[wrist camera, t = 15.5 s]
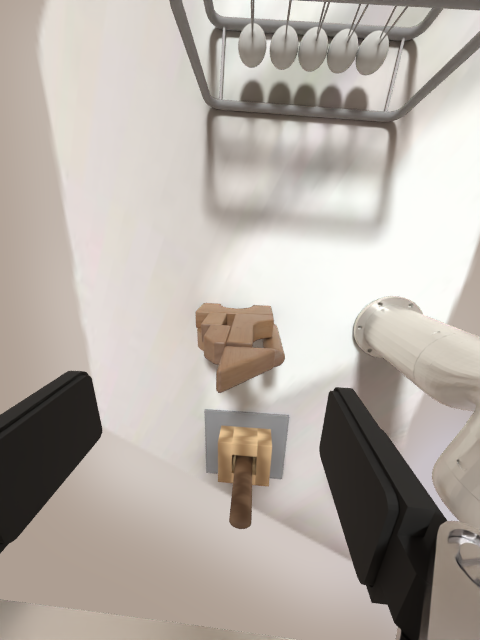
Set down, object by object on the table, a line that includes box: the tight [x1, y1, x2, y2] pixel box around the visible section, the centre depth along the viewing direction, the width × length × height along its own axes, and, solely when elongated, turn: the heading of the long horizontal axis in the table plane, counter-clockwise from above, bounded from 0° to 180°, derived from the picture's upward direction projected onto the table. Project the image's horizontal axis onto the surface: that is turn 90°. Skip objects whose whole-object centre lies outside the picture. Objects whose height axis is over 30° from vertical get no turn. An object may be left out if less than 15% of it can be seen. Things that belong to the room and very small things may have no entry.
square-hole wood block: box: [218, 426, 272, 486], centre depth 53 cm, size 12×12×5 cm
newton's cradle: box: [170, 0, 480, 122], centre depth 25 cm, size 30×10×18 cm, turn 85°
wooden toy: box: [196, 303, 285, 393], centre depth 34 cm, size 16×7×25 cm, turn 88°
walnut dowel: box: [229, 455, 253, 529], centre depth 48 cm, size 4×4×16 cm
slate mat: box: [205, 409, 289, 479], centre depth 55 cm, size 20×20×1 cm
